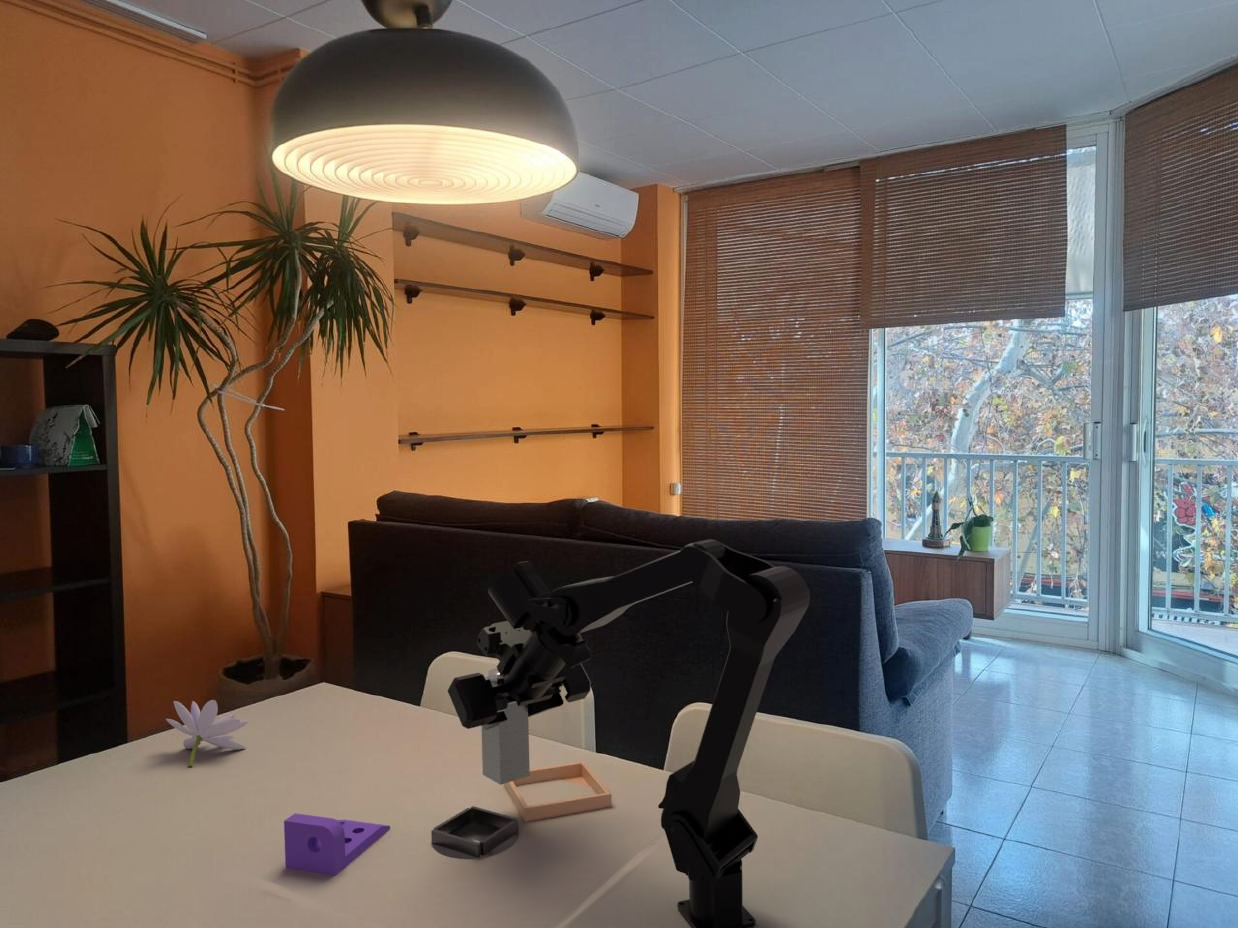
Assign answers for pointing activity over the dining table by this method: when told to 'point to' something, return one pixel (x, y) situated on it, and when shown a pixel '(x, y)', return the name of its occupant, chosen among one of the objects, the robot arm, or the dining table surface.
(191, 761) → the water lily
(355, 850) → the bracket
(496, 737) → the strut
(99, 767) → the dining table surface
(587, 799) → the tray
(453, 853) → the socket cup
